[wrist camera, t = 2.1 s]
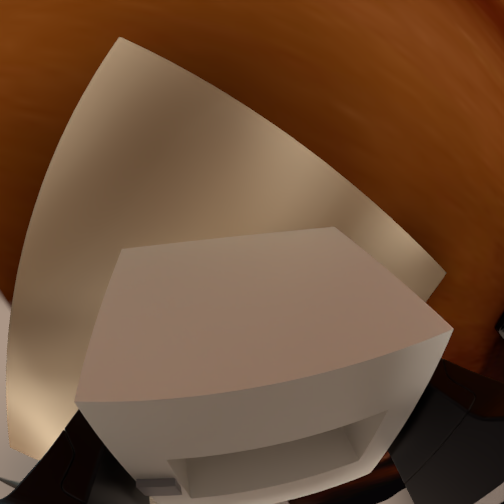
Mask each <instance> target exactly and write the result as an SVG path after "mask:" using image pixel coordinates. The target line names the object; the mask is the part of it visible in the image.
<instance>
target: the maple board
mask: <svg viewBox="0 0 504 504" xmlns="http://www.w3.org/2000/svg"><path fill="white" fill-rule="evenodd" d="M325 227H336V228H337V229H338V230H339V231H341V232H342V233H343V234H344V235H346V236H347V237H348V238H350V239H351V240H352V241H353V242H355V243H356V244H357V245H358V246H359V247H361V248H362V249H363V250H364V251H366V252H367V253H368V254H369V255H371V256H372V257H373V258H374V259H375V260H377V261H378V262H379V263H380V264H381V265H383V266H384V267H385V268H386V269H387V270H389V271H390V272H391V273H392V274H393V275H394V276H396V277H397V278H398V279H399V280H400V281H401V282H403V283H404V284H405V285H406V286H407V287H408V288H409V289H411V290H412V291H413V292H414V293H415V294H416V295H417V296H419V297H420V298H421V299H422V300H423V301H424V302H426V301H427V300H428V298H429V297H430V296H431V294H432V293H433V291H434V290H435V289H436V287H437V286H438V284H439V283H440V282H441V280H442V279H443V277H444V276H445V274H446V272H445V271H444V270H443V269H442V268H441V267H440V266H439V264H438V263H437V262H436V261H435V260H434V259H433V258H432V257H431V256H430V255H429V254H428V253H427V252H426V251H425V250H424V249H423V248H422V247H421V246H420V245H419V244H418V243H417V242H416V241H415V240H414V239H413V238H412V237H411V236H410V235H409V234H408V233H406V232H405V231H404V230H403V229H402V228H401V227H400V226H399V225H398V224H397V223H396V222H395V221H394V220H393V219H392V218H390V217H389V216H388V215H387V214H386V213H385V212H384V211H383V210H382V209H381V208H379V207H378V206H377V205H376V204H375V203H374V202H373V201H371V200H370V199H369V198H368V197H367V196H366V195H365V194H363V193H362V192H361V191H360V190H359V189H357V188H356V187H355V186H354V185H353V184H351V183H350V182H349V181H348V180H347V179H345V178H344V177H343V176H342V175H341V174H339V173H338V172H337V171H336V170H334V169H333V168H332V167H331V166H329V165H328V164H327V163H325V162H324V161H323V160H322V159H320V158H319V157H318V156H316V155H315V154H314V153H312V152H311V151H310V150H308V149H307V148H306V147H304V146H303V145H302V144H300V143H299V142H298V141H296V140H295V139H294V138H292V137H291V136H289V135H288V134H287V133H285V132H284V131H282V130H281V129H280V128H278V127H277V126H275V125H274V124H272V123H271V122H269V121H268V120H267V119H265V118H264V117H262V116H261V115H259V114H258V113H256V112H255V111H253V110H252V109H250V108H248V107H247V106H245V105H244V104H242V103H241V102H239V101H238V100H236V99H234V98H233V97H231V96H230V95H228V94H226V93H225V92H223V91H221V90H220V89H218V88H216V87H215V86H213V85H211V84H210V83H208V82H206V81H205V80H203V79H201V78H199V77H198V76H196V75H194V74H192V73H191V72H189V71H187V70H185V69H183V68H182V67H180V66H178V65H176V64H174V63H172V62H170V61H168V60H167V59H165V58H163V57H161V56H159V55H157V54H155V53H153V52H151V51H149V50H147V49H145V48H143V47H141V46H138V45H136V44H134V43H132V42H130V41H128V40H126V39H123V38H121V37H119V38H118V40H117V41H116V43H115V44H114V45H113V47H112V48H111V50H110V51H109V53H108V54H107V56H106V57H105V59H104V60H103V62H102V63H101V65H100V67H99V68H98V70H97V71H96V73H95V75H94V76H93V78H92V80H91V81H90V83H89V85H88V87H87V88H86V90H85V92H84V94H83V95H82V97H81V99H80V101H79V103H78V105H77V107H76V108H75V110H74V112H73V114H72V116H71V118H70V120H69V122H68V124H67V126H66V128H65V131H64V133H63V135H62V137H61V139H60V141H59V144H58V146H57V148H56V151H55V153H54V155H53V158H52V160H51V163H50V165H49V168H48V170H47V173H46V175H45V178H44V181H43V183H42V186H41V189H40V192H39V195H38V198H37V201H36V204H35V207H34V210H33V213H32V216H31V220H30V223H29V227H28V230H27V234H26V238H25V242H24V246H23V250H22V254H21V258H20V263H19V267H18V272H17V277H16V283H15V288H14V294H13V301H12V308H11V315H10V324H9V333H8V346H7V364H6V403H7V404H6V405H7V422H8V434H9V444H10V448H12V449H14V450H17V451H19V452H21V453H23V454H26V455H27V456H30V457H32V458H34V459H37V460H39V461H40V460H41V458H42V457H43V456H44V455H45V454H46V452H47V451H48V450H49V449H50V447H51V446H52V445H53V443H54V442H55V441H56V439H57V438H58V437H59V435H60V434H61V432H62V431H63V430H65V427H66V426H67V424H68V423H69V421H70V420H71V419H72V417H73V416H74V415H75V413H76V412H77V410H78V409H79V408H78V407H77V405H76V404H75V402H74V400H75V395H76V391H77V387H78V383H79V379H80V375H81V371H82V367H83V363H84V359H85V356H86V352H87V349H88V345H89V342H90V338H91V335H92V332H93V328H94V325H95V322H96V319H97V316H98V313H99V310H100V307H101V304H102V301H103V298H104V295H105V292H106V289H107V287H108V284H109V281H110V278H111V276H112V273H113V270H114V268H115V265H116V263H117V260H118V257H119V255H120V252H121V250H122V249H126V248H134V247H143V246H151V245H160V244H169V243H178V242H187V241H196V240H205V239H214V238H224V237H233V236H243V235H253V234H263V233H273V232H283V231H293V230H304V229H314V228H325Z"/></svg>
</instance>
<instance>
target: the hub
mask: <svg viewBox="0 0 504 504" xmlns="http://www.w3.org/2000/svg"><path fill="white" fill-rule="evenodd" d="M452 332H453V328H452V327H451V326H450V325H449V324H448V323H447V322H446V321H445V320H444V319H443V318H442V317H441V316H440V315H438V314H437V313H436V312H435V311H434V310H433V309H432V308H431V307H430V306H429V305H427V304H426V303H425V302H424V301H423V300H422V299H421V298H420V297H419V296H417V295H416V294H415V293H414V292H413V291H412V290H411V289H409V288H408V287H407V286H406V285H405V284H404V283H403V282H401V281H400V280H399V279H398V278H397V277H396V276H394V275H393V274H392V273H391V272H390V271H389V270H387V269H386V268H385V267H384V266H383V265H381V264H380V263H379V262H378V261H377V260H375V259H374V258H373V257H372V256H371V255H369V254H368V253H367V252H366V251H364V250H363V249H362V248H361V247H359V246H358V245H357V244H356V243H355V242H353V241H352V240H351V239H350V238H348V237H347V236H346V235H344V234H343V233H342V232H341V231H339V230H338V229H337V228H336V227H325V228H314V229H304V230H293V231H283V232H273V233H263V234H253V235H243V236H233V237H224V238H214V239H205V240H196V241H187V242H178V243H169V244H160V245H151V246H143V247H134V248H126V249H122V250H121V252H120V255H119V257H118V260H117V263H116V265H115V268H114V270H113V273H112V276H111V278H110V281H109V284H108V287H107V289H106V292H105V295H104V298H103V301H102V304H101V307H100V310H99V313H98V316H97V319H96V322H95V325H94V328H93V332H92V335H91V338H90V342H89V345H88V349H87V352H86V356H85V359H84V363H83V367H82V371H81V375H80V379H79V383H78V387H77V391H76V395H75V400H74V402H75V404H76V405H77V407H78V408H79V410H80V411H81V413H82V414H83V416H84V417H85V419H86V420H87V421H88V423H89V424H90V426H91V427H92V428H93V430H94V431H95V433H96V434H97V435H98V437H99V438H100V439H101V440H102V442H103V443H104V444H105V446H106V447H107V448H108V449H109V451H110V452H111V453H112V454H113V456H114V457H115V458H116V459H117V460H118V462H119V463H120V464H121V465H122V466H123V467H124V469H125V470H126V471H127V472H128V473H129V474H130V475H131V476H132V478H133V479H134V480H135V481H136V487H137V488H138V489H139V490H140V491H141V492H142V493H143V494H144V495H145V496H151V497H152V498H153V499H154V500H155V501H156V502H157V503H158V504H275V503H279V502H283V501H287V500H291V499H295V498H299V497H303V496H306V495H310V494H313V493H316V492H320V491H323V490H326V489H329V488H332V487H335V486H338V485H341V484H343V483H346V482H349V481H351V480H354V479H357V478H359V477H362V476H364V475H367V474H369V473H371V471H372V470H373V469H374V467H375V466H376V465H377V463H378V462H379V461H380V459H381V458H382V457H383V455H384V454H385V452H386V451H387V450H388V448H389V447H390V445H391V444H392V442H393V441H394V439H395V438H396V436H397V435H398V433H399V432H400V430H401V429H402V427H403V426H404V424H405V423H406V421H407V419H408V418H409V416H410V414H411V413H412V411H413V409H414V408H415V406H416V404H417V403H418V401H419V399H420V397H421V395H422V394H423V392H424V390H425V388H426V386H427V384H428V383H429V381H430V379H431V377H432V375H433V373H434V371H435V369H436V367H437V365H438V363H439V361H440V359H441V356H442V354H443V352H444V350H445V348H446V346H447V343H448V341H449V339H450V336H451V334H452Z"/></svg>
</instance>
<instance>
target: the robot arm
mask: <svg viewBox="0 0 504 504" xmlns="http://www.w3.org/2000/svg"><path fill="white" fill-rule="evenodd" d="M496 330H497V332H498V333H499V334H500V336H501V337H502V338H503V340H504V316H503V318H502V319H501V320H500V322H499V323H498V325H497V327H496ZM388 452H389V454H390V456H391V458H392V459H393V461H394V463H395V465H396V467H397V469H398V471H399V473H400V475H401V477H402V479H403V481H404V483H405V486H406V488H407V490H408V492H409V494H410V496H411V498H412V500H413V502H414V504H504V383H503V382H500V381H497V380H494V379H492V378H489V377H486V376H483V375H480V374H478V373H475V372H473V371H470V370H467V369H465V368H463V367H460V366H458V365H456V364H454V363H452V362H449V361H447V360H445V359H442V358H441V359H440V361H439V363H438V365H437V367H436V369H435V371H434V373H433V375H432V377H431V379H430V381H429V383H428V384H427V386H426V388H425V390H424V392H423V394H422V395H421V397H420V399H419V401H418V403H417V404H416V406H415V408H414V409H413V411H412V413H411V414H410V416H409V418H408V419H407V421H406V423H405V424H404V426H403V427H402V429H401V430H400V432H399V433H398V435H397V436H396V438H395V439H394V441H393V442H392V444H391V445H390V447H389V448H388ZM0 504H150V498H149V496H145V495H144V494H143V493H142V492H141V491H140V490H139V489H138V488H137V487H136V481H135V480H134V479H133V478H132V476H131V475H130V474H129V473H128V472H127V471H126V470H125V469H124V467H123V466H122V465H121V464H120V463H119V462H118V460H117V459H116V458H115V457H114V456H113V454H112V453H111V452H110V451H109V449H108V448H107V447H106V446H105V444H104V443H103V442H102V440H101V439H100V438H99V437H98V435H97V434H96V433H95V431H94V430H93V428H92V427H91V426H90V424H89V423H88V421H87V420H86V419H85V417H84V416H83V414H82V413H81V411H80V410H79V409H78V410H77V412H76V413H75V415H74V416H73V417H72V419H71V420H70V421H69V423H68V424H67V426H66V427H65V430H63V431H62V432H61V434H60V435H59V437H58V438H57V439H56V441H55V442H54V443H53V445H52V446H51V447H50V449H49V450H48V451H47V452H46V454H45V455H44V456H43V457H42V458H41V460H40V461H39V462H38V463H37V464H36V465H35V467H34V468H33V469H32V470H31V471H30V472H29V473H28V475H27V476H26V477H25V478H24V479H23V480H22V481H21V482H20V484H19V485H18V486H17V487H16V488H15V489H14V490H13V491H12V492H11V493H10V494H9V495H8V496H6V497H5V498H3V499H1V500H0Z"/></svg>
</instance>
